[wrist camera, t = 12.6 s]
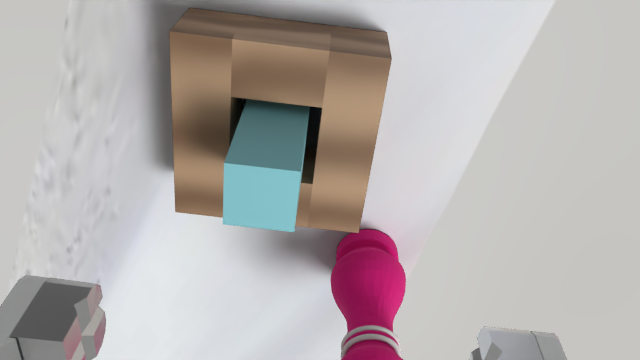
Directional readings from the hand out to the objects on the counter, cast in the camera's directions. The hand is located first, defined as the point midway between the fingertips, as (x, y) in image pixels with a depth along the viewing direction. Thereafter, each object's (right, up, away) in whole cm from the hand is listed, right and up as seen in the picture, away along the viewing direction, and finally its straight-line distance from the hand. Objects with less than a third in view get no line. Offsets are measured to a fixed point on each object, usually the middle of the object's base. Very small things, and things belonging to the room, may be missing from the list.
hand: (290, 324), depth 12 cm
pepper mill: (+5, -4, +46) cm, 47 cm away
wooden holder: (-3, +9, +38) cm, 39 cm away
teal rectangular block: (-3, +9, +38) cm, 39 cm away
